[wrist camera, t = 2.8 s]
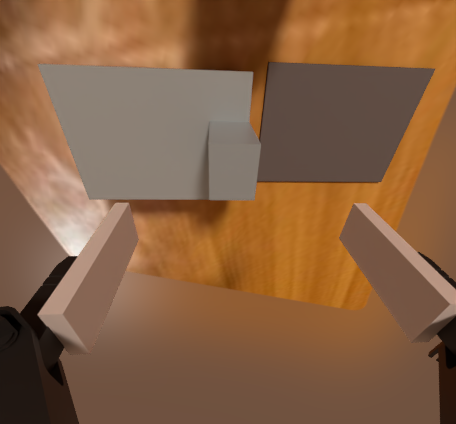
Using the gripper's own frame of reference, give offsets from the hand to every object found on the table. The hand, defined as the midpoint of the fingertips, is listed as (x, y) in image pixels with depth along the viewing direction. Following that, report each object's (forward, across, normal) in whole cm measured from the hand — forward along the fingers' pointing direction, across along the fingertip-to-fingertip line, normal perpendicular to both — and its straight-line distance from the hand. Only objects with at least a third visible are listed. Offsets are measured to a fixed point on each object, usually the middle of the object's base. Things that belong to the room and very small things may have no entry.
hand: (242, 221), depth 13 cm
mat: (+20, +14, 0) cm, 25 cm away
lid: (+15, -8, 0) cm, 17 cm away
